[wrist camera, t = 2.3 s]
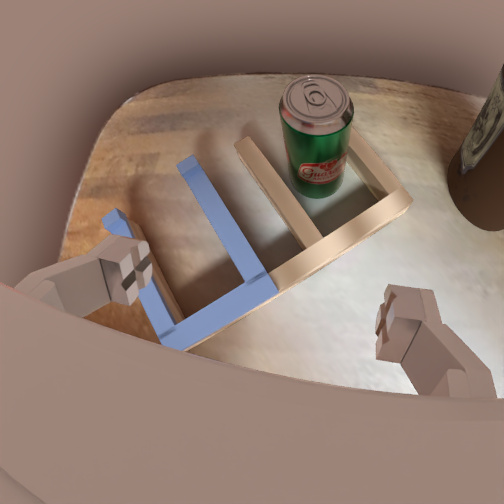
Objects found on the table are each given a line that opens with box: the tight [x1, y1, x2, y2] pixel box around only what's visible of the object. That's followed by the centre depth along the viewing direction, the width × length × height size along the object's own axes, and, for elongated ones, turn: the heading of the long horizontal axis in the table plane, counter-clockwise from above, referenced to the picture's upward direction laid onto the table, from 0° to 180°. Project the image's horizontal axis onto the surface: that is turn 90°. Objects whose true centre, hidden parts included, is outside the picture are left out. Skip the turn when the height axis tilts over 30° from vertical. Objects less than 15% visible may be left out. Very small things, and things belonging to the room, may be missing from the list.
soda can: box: [279, 74, 354, 199], centre depth 25 cm, size 5×5×12 cm
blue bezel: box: [102, 155, 280, 351], centre depth 27 cm, size 10×14×2 cm
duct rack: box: [127, 127, 414, 352], centre depth 29 cm, size 24×14×3 cm, turn 121°
